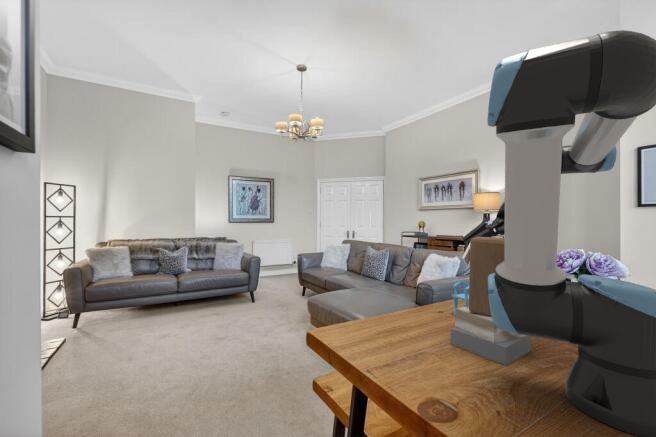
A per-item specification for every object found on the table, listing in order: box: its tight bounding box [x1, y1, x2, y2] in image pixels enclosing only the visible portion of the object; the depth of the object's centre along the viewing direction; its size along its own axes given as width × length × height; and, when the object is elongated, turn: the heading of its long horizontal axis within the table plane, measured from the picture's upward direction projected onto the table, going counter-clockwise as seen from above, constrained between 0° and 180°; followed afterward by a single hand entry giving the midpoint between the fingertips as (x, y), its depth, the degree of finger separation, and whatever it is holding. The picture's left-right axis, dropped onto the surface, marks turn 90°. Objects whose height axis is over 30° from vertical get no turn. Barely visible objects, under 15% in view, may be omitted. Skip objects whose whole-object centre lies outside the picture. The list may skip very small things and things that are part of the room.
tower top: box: [454, 306, 527, 343], centre depth 78 cm, size 12×12×5 cm
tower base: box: [450, 326, 532, 367], centre depth 78 cm, size 14×14×5 cm
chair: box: [451, 280, 469, 317], centre depth 104 cm, size 8×8×12 cm
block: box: [468, 236, 504, 316], centre depth 78 cm, size 10×10×20 cm
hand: (489, 265), depth 77 cm, fingers open, 13 cm apart
